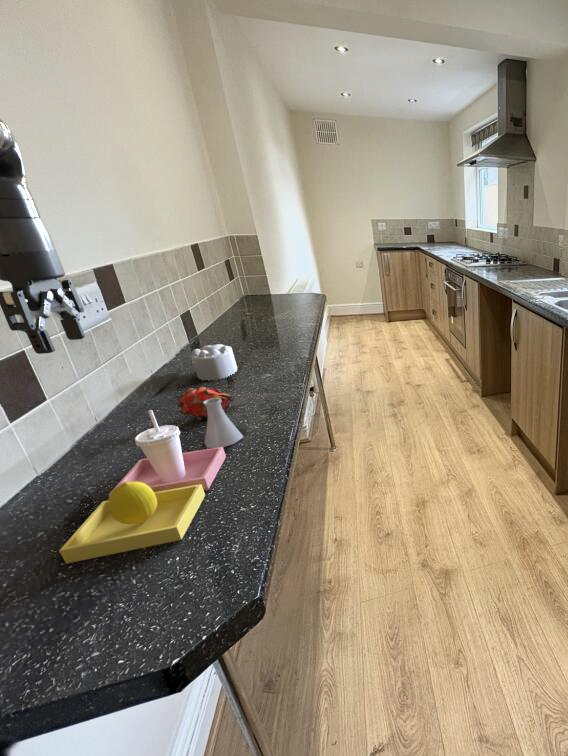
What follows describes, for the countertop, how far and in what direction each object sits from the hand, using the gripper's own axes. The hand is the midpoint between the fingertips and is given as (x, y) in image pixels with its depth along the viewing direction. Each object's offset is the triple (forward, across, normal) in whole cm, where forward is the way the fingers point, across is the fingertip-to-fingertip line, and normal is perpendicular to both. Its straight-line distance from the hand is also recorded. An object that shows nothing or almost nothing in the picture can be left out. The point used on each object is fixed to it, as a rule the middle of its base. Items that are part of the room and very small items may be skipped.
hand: (62, 345), depth 71 cm
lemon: (+26, +21, +12) cm, 35 cm away
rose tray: (+26, +7, +12) cm, 30 cm away
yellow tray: (+26, +21, +12) cm, 35 cm away
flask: (+26, -6, +17) cm, 32 cm away
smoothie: (+26, +7, +12) cm, 29 cm away
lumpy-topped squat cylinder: (+26, -56, +3) cm, 62 cm away
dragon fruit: (+26, -22, +10) cm, 36 cm away
